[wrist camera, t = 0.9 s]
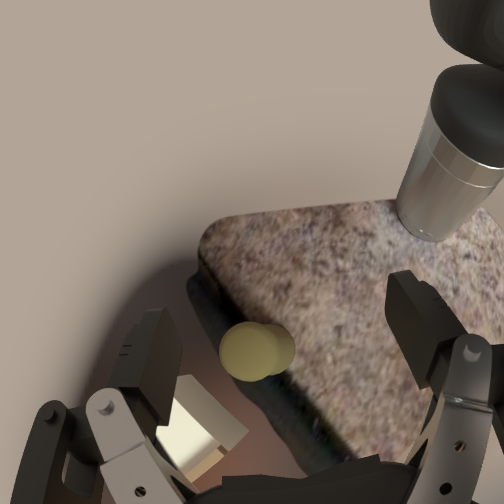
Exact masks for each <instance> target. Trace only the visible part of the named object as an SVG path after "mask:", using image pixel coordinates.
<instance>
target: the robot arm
mask: <svg viewBox="0 0 504 504" xmlns="http://www.w3.org/2000/svg"><path fill="white" fill-rule="evenodd" d="M430 9H431V14H432V18H433V22H434V24H435V27H436V29H437V31H438V33H439V34H440V36H441V37H442V38H443V40H444V41H445V42H446V43H447V44H448V45H449V46H451V47H452V48H453V49H455V50H456V51H458V52H460V53H462V54H464V55H465V56H468V57H470V58H472V59H474V60H476V61H478V62H480V63H483V64H467V65H466V64H465V65H456V66H452V67H449V68H447V69H445V70H444V71H443V72H442V73H441V74H440V75H439V76H438V78H437V80H436V82H435V85H434V88H433V92H432V96H431V100H430V103H429V106H428V109H427V113H426V116H425V119H424V123H423V126H422V129H421V132H420V135H419V138H418V141H417V144H416V146H415V149H414V152H413V155H412V158H411V161H410V163H409V166H408V169H407V171H406V174H405V176H404V179H403V181H402V184H401V186H400V189H399V192H398V195H397V199H396V208H397V212H398V216H399V218H400V220H401V222H402V224H403V225H404V226H405V228H406V229H407V230H408V231H409V232H410V233H411V234H413V235H414V236H416V237H417V238H419V239H422V240H424V241H429V242H440V241H442V240H445V239H447V238H448V237H450V236H451V235H452V234H453V233H454V232H455V231H456V230H457V229H458V228H459V227H460V226H461V225H462V224H463V223H464V222H465V221H466V220H467V219H468V218H469V217H470V216H471V215H472V214H473V213H474V211H475V210H476V209H477V208H478V207H479V206H480V205H481V204H482V203H483V202H484V200H485V199H486V198H487V197H488V196H489V195H490V194H491V193H492V192H493V190H494V189H495V188H496V187H497V186H498V184H499V183H500V182H501V181H502V180H503V178H504V0H430ZM385 316H386V320H387V323H388V325H389V327H390V329H391V331H392V333H393V334H394V336H395V338H396V340H397V342H398V344H399V347H400V349H401V351H402V353H403V355H404V357H405V359H406V361H407V363H408V365H409V367H410V369H411V372H412V374H413V376H414V378H415V380H416V382H417V385H418V387H419V389H420V390H421V389H424V388H427V387H429V386H430V387H431V389H432V391H433V393H432V395H431V398H430V401H429V404H428V407H427V410H426V413H425V416H424V419H423V422H422V425H421V428H420V431H419V433H418V436H417V439H416V441H415V443H414V445H413V447H412V449H411V451H410V453H409V455H408V457H407V459H406V461H405V463H404V464H403V463H397V462H388V461H380V458H379V454H375V455H372V456H368V457H364V458H360V459H356V460H352V461H348V462H343V463H340V464H338V465H335V466H333V467H331V468H329V469H326V470H324V471H321V472H319V473H317V474H314V475H312V476H309V477H306V478H303V479H295V478H285V477H276V476H268V475H246V476H245V475H244V476H222V484H221V485H217V486H214V487H212V488H209V489H207V490H204V491H202V492H200V493H199V492H198V490H197V489H196V488H195V487H194V486H193V484H192V483H191V482H190V481H189V480H188V479H187V478H186V477H185V476H184V474H183V473H182V472H181V470H180V469H179V468H178V466H177V465H176V463H175V462H174V460H173V459H172V458H171V456H170V455H169V453H168V452H167V450H166V449H165V447H164V445H163V444H162V442H161V441H160V439H159V438H158V436H157V435H156V431H157V426H169V421H170V415H171V410H172V404H173V398H174V393H175V387H176V382H177V377H178V372H179V366H180V361H181V356H182V343H181V339H180V336H179V334H178V332H177V329H176V327H175V325H174V323H173V320H172V318H171V316H170V313H169V311H168V310H167V309H166V308H160V309H151V310H146V311H145V313H144V315H143V317H142V320H141V323H140V324H138V325H135V326H134V327H133V328H132V329H131V330H130V332H129V333H128V334H127V335H126V338H125V340H124V343H123V345H122V346H123V347H122V348H121V350H120V353H119V356H118V358H117V361H116V363H115V366H114V369H113V371H112V374H111V377H110V379H109V382H108V385H107V388H105V389H102V390H100V391H98V392H96V393H95V394H93V396H91V398H90V399H89V401H88V402H87V405H85V406H80V407H76V408H72V409H68V408H67V407H66V406H65V405H64V404H63V403H62V402H60V401H57V400H52V401H49V402H47V403H45V404H44V405H43V406H42V407H41V408H40V409H39V411H38V413H37V415H36V417H35V420H34V423H33V426H32V429H31V431H30V434H29V437H28V440H27V443H26V447H25V449H24V453H23V456H22V459H21V463H20V466H19V470H18V474H17V477H16V481H15V485H14V489H13V493H12V497H11V502H10V504H101V498H102V491H103V485H104V480H105V482H106V484H107V486H108V488H109V490H110V492H111V494H112V496H113V498H114V500H115V502H116V504H478V503H477V502H475V501H473V500H471V499H472V496H473V493H474V490H475V487H476V484H477V481H478V478H479V474H480V471H481V467H482V464H483V460H484V455H485V452H486V447H487V443H488V438H489V433H490V428H491V423H492V425H493V427H494V430H495V432H496V435H497V438H498V440H499V443H500V446H501V449H502V451H503V454H504V344H497V345H490V344H489V342H488V341H487V340H486V339H484V338H483V337H481V336H479V335H476V334H468V332H467V331H466V330H465V328H464V327H463V325H462V324H461V323H460V321H459V320H458V318H457V317H456V316H455V314H454V313H453V311H452V310H451V309H450V307H449V306H447V303H446V302H445V301H444V299H442V298H441V296H440V294H439V293H438V292H437V290H436V289H435V288H434V287H433V286H431V285H429V284H428V283H426V282H425V281H418V280H417V278H416V277H415V276H414V274H413V273H412V272H411V271H410V270H405V271H400V272H395V273H390V274H389V276H388V283H387V292H386V301H385ZM67 453H68V454H69V455H71V456H70V460H69V464H68V468H67V473H66V477H65V482H64V484H63V482H62V477H61V476H62V470H63V466H64V462H65V458H66V454H67Z"/></svg>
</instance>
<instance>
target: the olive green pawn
mask: <svg viewBox="0 0 504 504" xmlns="http://www.w3.org/2000/svg"><path fill="white" fill-rule="evenodd" d="M219 355H220V359H221V363H222V365H223V366H224V368H225V369H226V371H227V372H228V373H230V374H231V375H232V376H233V377H235V378H238V379H240V380H243V381H257V380H260V379H263V378H265V377H266V376H268V375H275V374H278V373H281V372H282V371H284V370H285V369H287V368H288V367H289V365H290V364H291V363H292V362H293V359H294V356H295V343H294V340H293V337H292V336H291V335H290V333H289V332H288V331H287V330H286V329H284V328H283V327H281V326H278V325H275V324H265V325H263V324H260V323H257V322H243V323H240V324H236V325H235V326H234V327H232V328H231V329H229V330H228V331H227V333H226V334H225V335H224V336H223V338H222V341H221V344H220V350H219Z"/></svg>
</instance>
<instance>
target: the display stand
mask: <svg viewBox="0 0 504 504" xmlns="http://www.w3.org/2000/svg"><path fill="white" fill-rule="evenodd" d="M248 431H249V430H248V429H247V428H246V427H245V426H244V425H243V424H242V423H241V422H239V421H238V420H237V419H236V418H235V417H234V416H233V415H232V414H231V413H230V412H229V411H228V410H226V409H225V408H224V407H223V406H222V405H221V404H220V403H219V402H218V401H217V400H216V399H215V398H214V397H213V396H212V395H211V394H210V393H209V392H208V391H207V390H206V389H205V388H204V387H203V386H202V385H201V384H200V383H199V382H198V381H197V380H196V379H195V378H194V377H193V376H192V375H191V374H189V375H183V376H178V377H177V382H176V387H175V393H174V398H173V404H172V410H171V415H170V421H169V426H157V431H156V435H157V436H158V438H159V439H160V441H161V442H162V444H163V445H164V447H165V449H166V450H167V452H168V453H169V455H170V456H171V458H172V459H173V460H174V462H175V463H176V465H177V466H178V468H179V469H180V470H181V472H182V473H183V474H184V476H185V477H186V478H187V479H188V480H189V481H190V482H191V483H192V482H193V481H194V480H196V479H197V478H198V477H199V476H201V475H202V474H203V473H204V472H206V471H207V470H208V469H209V468H210V467H212V466H213V465H214V464H215V463H217V462H218V461H219V460H220V459H221V458H222V457H224V456H225V455H226V454H227V453H228V452H229V451H230V450H231V449H232V448H233V447H234V446H235V445H236V444H237V443H238V442H239V441H240V440H241V439H242V438H243V436H245V435H246V433H247V432H248Z"/></svg>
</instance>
